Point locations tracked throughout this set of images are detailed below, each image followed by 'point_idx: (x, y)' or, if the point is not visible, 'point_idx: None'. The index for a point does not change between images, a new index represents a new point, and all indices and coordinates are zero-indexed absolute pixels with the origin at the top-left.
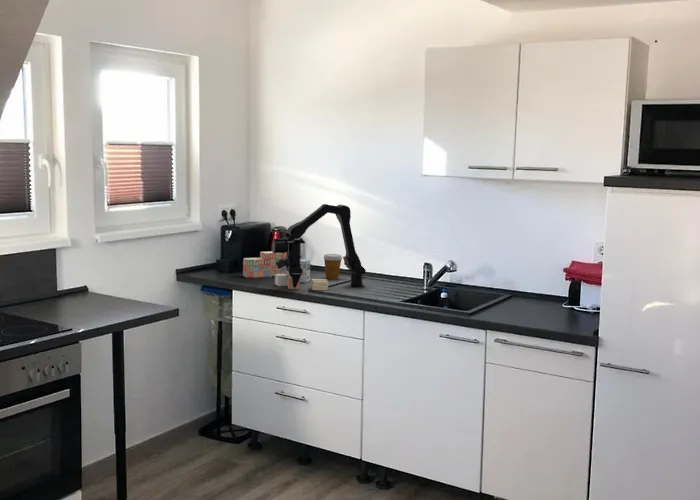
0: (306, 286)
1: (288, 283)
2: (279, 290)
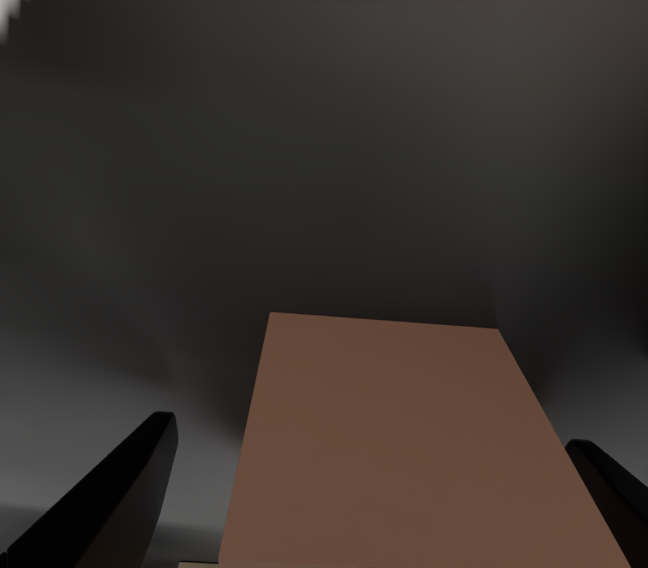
0: None
1: (355, 397)
2: (32, 55)
